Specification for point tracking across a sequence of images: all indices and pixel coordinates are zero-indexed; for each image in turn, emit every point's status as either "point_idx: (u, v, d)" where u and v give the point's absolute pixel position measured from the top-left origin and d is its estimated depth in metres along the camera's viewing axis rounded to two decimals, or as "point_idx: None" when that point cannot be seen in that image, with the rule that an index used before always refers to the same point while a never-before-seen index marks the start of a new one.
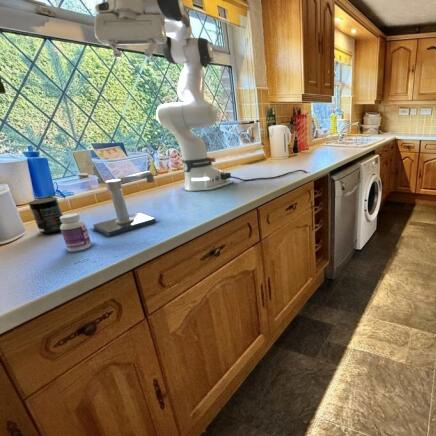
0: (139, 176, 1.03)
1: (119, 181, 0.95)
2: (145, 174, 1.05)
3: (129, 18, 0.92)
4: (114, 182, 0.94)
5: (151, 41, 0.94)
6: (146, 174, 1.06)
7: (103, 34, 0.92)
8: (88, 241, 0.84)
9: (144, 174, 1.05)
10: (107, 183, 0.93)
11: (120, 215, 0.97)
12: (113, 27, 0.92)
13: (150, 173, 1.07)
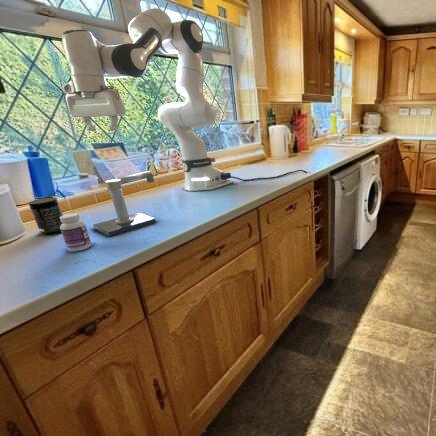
0: (139, 176, 1.03)
1: (119, 181, 0.95)
2: (145, 174, 1.05)
3: (89, 97, 0.97)
4: (114, 182, 0.94)
5: (111, 117, 0.99)
6: (146, 174, 1.06)
7: (75, 112, 1.01)
8: (88, 241, 0.84)
9: (144, 174, 1.05)
10: (107, 183, 0.93)
11: (120, 215, 0.97)
12: (81, 106, 0.99)
13: (150, 173, 1.07)
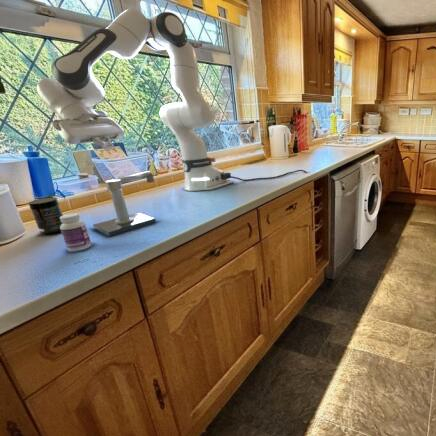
0: (139, 176, 1.03)
1: (119, 181, 0.95)
2: (145, 174, 1.05)
3: None
4: (114, 182, 0.94)
5: None
6: (146, 174, 1.06)
7: None
8: (88, 241, 0.84)
9: (144, 174, 1.05)
10: (107, 183, 0.93)
11: (120, 215, 0.97)
12: None
13: (150, 173, 1.07)
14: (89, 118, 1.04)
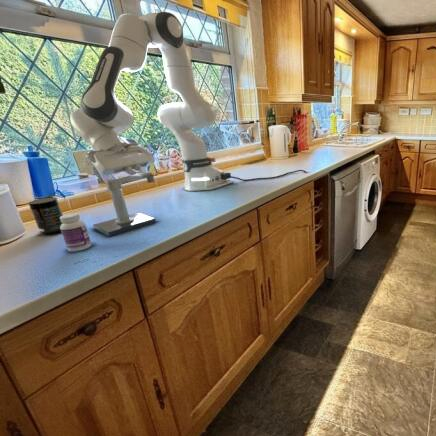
0: (139, 176, 1.03)
1: (119, 181, 0.95)
2: (145, 174, 1.05)
3: None
4: (114, 182, 0.94)
5: None
6: (146, 174, 1.06)
7: None
8: (88, 241, 0.84)
9: (144, 174, 1.05)
10: (107, 183, 0.93)
11: (120, 215, 0.97)
12: None
13: (150, 173, 1.07)
14: (121, 148, 1.05)
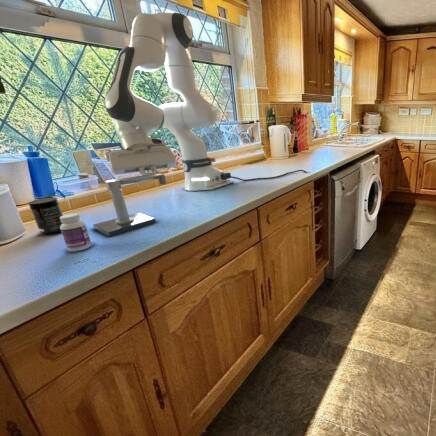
0: (145, 177, 1.00)
1: (116, 182, 0.94)
2: (154, 176, 1.02)
3: None
4: (110, 182, 0.93)
5: None
6: (155, 176, 1.02)
7: None
8: (88, 241, 0.84)
9: (152, 175, 1.02)
10: None
11: (120, 215, 0.97)
12: None
13: (161, 175, 1.03)
14: (141, 148, 1.04)
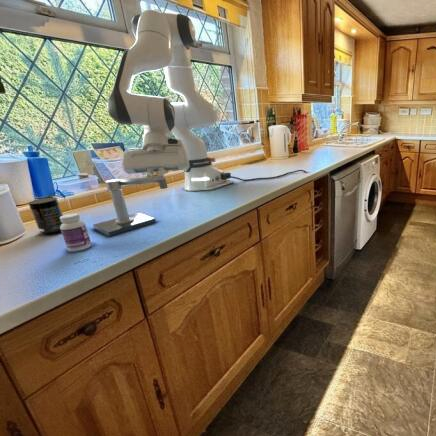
0: (144, 180, 0.96)
1: (113, 182, 0.94)
2: (153, 179, 0.97)
3: None
4: (107, 183, 0.93)
5: None
6: (154, 179, 0.97)
7: None
8: (88, 241, 0.84)
9: (151, 179, 0.97)
10: None
11: (120, 215, 0.97)
12: None
13: (160, 179, 0.98)
14: (154, 148, 1.01)
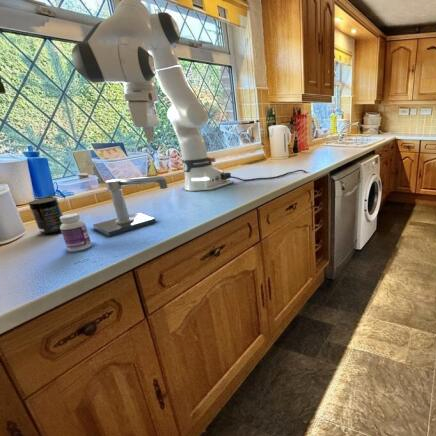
0: (144, 180, 0.96)
1: (113, 182, 0.94)
2: (153, 179, 0.97)
3: (152, 107, 0.99)
4: (107, 183, 0.93)
5: None
6: (154, 179, 0.97)
7: (148, 122, 0.93)
8: (88, 241, 0.84)
9: (151, 179, 0.97)
10: None
11: (120, 215, 0.97)
12: (149, 115, 0.95)
13: (160, 179, 0.97)
14: None
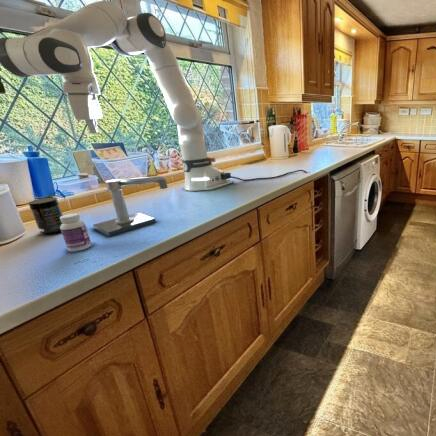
0: (144, 180, 0.96)
1: (113, 182, 0.94)
2: (153, 179, 0.97)
3: (94, 100, 1.00)
4: (107, 183, 0.93)
5: None
6: (154, 179, 0.97)
7: (90, 114, 0.94)
8: (88, 241, 0.84)
9: (151, 179, 0.97)
10: None
11: (120, 215, 0.97)
12: (91, 108, 0.96)
13: (160, 179, 0.97)
14: None
